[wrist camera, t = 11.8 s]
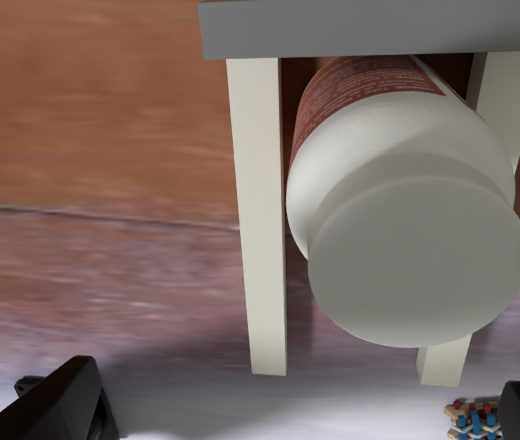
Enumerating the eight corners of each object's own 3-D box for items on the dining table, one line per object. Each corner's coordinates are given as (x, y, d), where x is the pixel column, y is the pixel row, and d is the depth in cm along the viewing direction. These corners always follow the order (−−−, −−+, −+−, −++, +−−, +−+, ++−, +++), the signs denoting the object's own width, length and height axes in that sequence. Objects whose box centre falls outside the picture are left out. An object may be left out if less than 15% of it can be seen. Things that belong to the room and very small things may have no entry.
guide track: (450, 366, 26) (476, 447, 21) (255, 354, 27) (242, 427, 23) (547, -23, 16) (630, -17, 11) (228, -8, 17) (197, 2, 13)
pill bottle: (275, 151, 20) (233, 317, 11) (335, 16, 17) (350, 86, 8) (395, 202, 21) (454, 402, 11) (475, 80, 18) (648, 218, 8)
